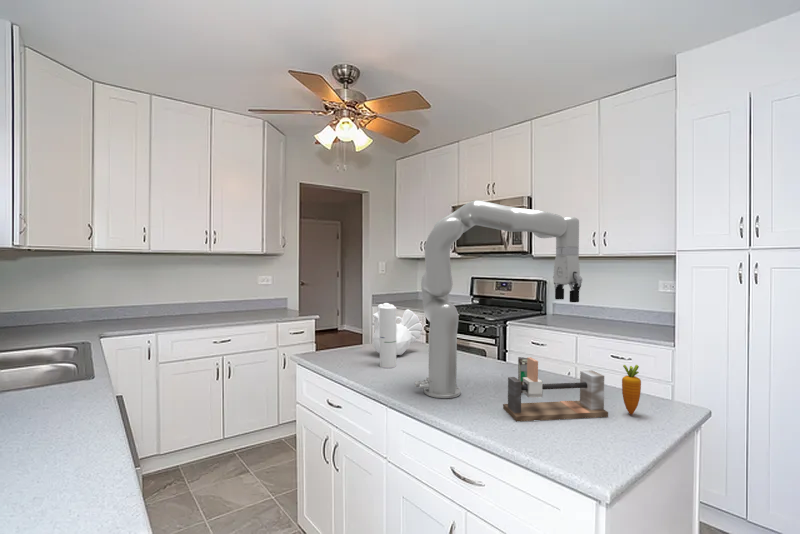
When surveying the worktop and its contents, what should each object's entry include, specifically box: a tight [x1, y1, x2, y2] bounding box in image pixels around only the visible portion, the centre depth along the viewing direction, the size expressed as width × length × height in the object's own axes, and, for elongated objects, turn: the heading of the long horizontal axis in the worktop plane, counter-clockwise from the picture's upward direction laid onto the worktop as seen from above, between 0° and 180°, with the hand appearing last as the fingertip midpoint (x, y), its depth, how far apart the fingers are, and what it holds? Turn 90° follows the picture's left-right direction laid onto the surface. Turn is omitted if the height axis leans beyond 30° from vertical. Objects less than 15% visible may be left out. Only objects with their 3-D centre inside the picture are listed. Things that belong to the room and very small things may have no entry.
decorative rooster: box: [372, 302, 423, 356], centre depth 197 cm, size 25×16×25 cm, turn 102°
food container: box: [517, 356, 528, 394], centre depth 145 cm, size 12×6×10 cm, turn 168°
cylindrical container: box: [379, 306, 398, 369], centre depth 176 cm, size 7×7×25 cm
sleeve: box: [521, 356, 543, 399], centre depth 122 cm, size 4×5×11 cm
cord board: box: [502, 370, 609, 423], centre depth 123 cm, size 28×10×12 cm, turn 97°
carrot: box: [621, 364, 642, 416], centre depth 122 cm, size 5×5×15 cm
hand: (566, 300), depth 146 cm, fingers open, 9 cm apart
